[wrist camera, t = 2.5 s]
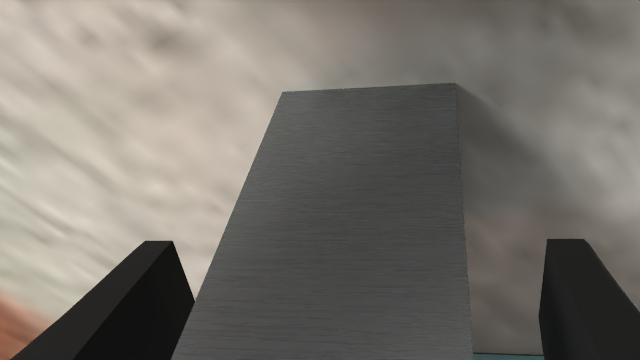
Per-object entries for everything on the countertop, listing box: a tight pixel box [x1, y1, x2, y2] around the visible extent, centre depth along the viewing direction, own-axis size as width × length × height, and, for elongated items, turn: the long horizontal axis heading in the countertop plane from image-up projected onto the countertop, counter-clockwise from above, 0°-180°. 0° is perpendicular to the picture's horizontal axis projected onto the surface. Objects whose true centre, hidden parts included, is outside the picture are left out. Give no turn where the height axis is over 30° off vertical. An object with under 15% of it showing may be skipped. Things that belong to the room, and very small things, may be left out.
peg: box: [171, 83, 473, 360], centre depth 12 cm, size 4×4×8 cm
